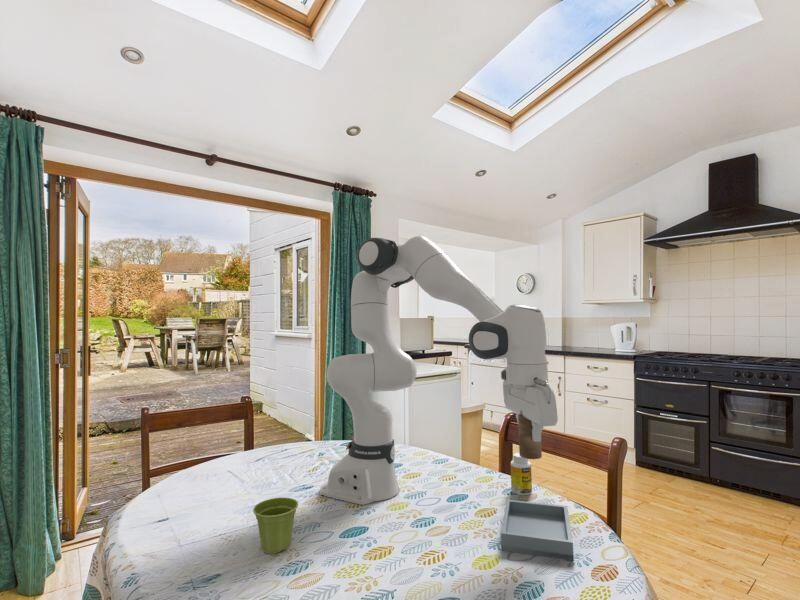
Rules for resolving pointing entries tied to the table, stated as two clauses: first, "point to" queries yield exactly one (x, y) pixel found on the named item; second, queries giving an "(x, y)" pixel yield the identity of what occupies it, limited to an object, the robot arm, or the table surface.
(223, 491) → the table surface
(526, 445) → the shaker
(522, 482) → the supplement bottle
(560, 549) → the tray
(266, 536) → the plant pot
